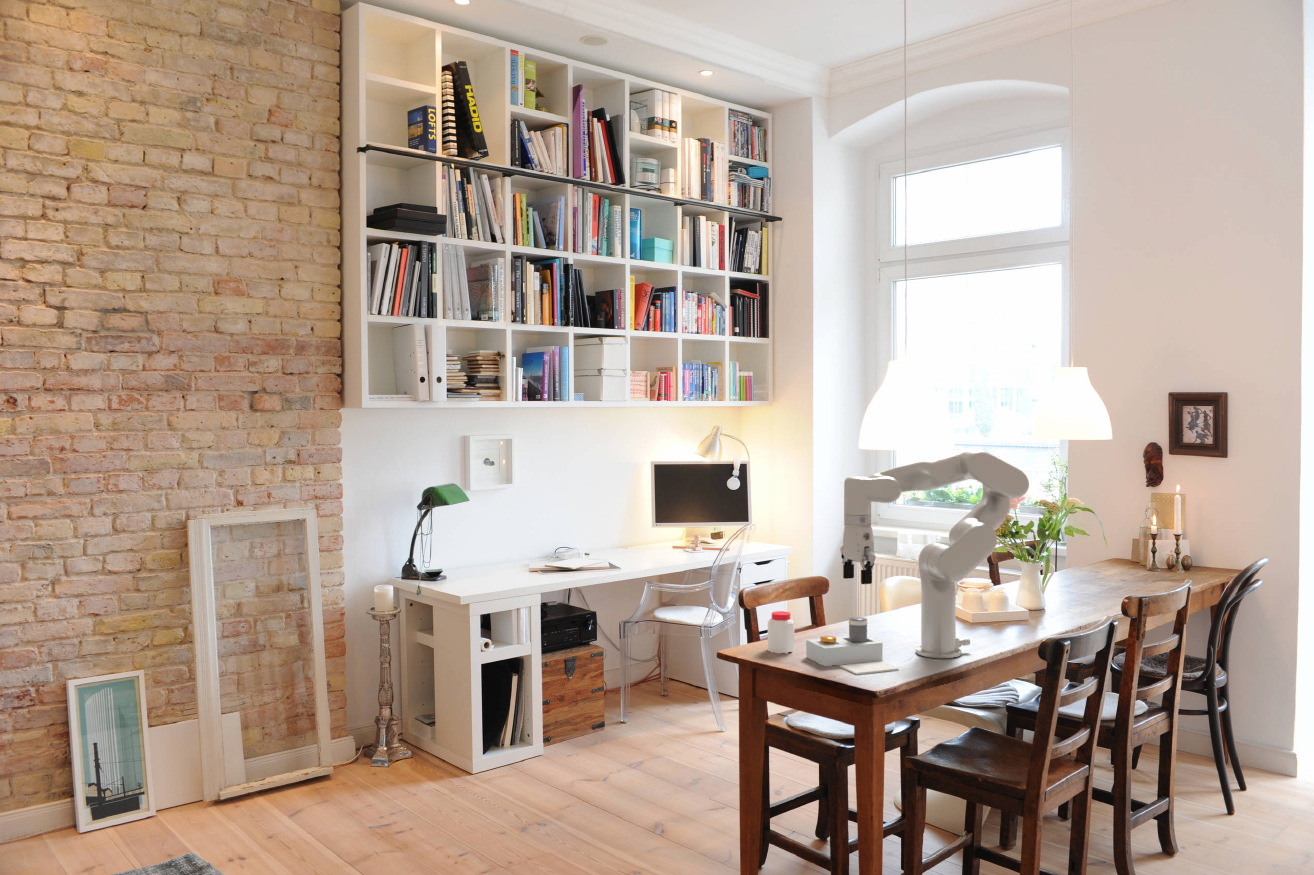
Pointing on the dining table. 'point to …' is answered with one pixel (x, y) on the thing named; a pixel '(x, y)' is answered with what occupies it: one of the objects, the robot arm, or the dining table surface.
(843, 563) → the robot arm
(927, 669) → the dining table surface
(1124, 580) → the dining table surface
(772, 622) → the pill bottle
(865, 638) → the cylinder
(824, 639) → the plunger
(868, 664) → the mat
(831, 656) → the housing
